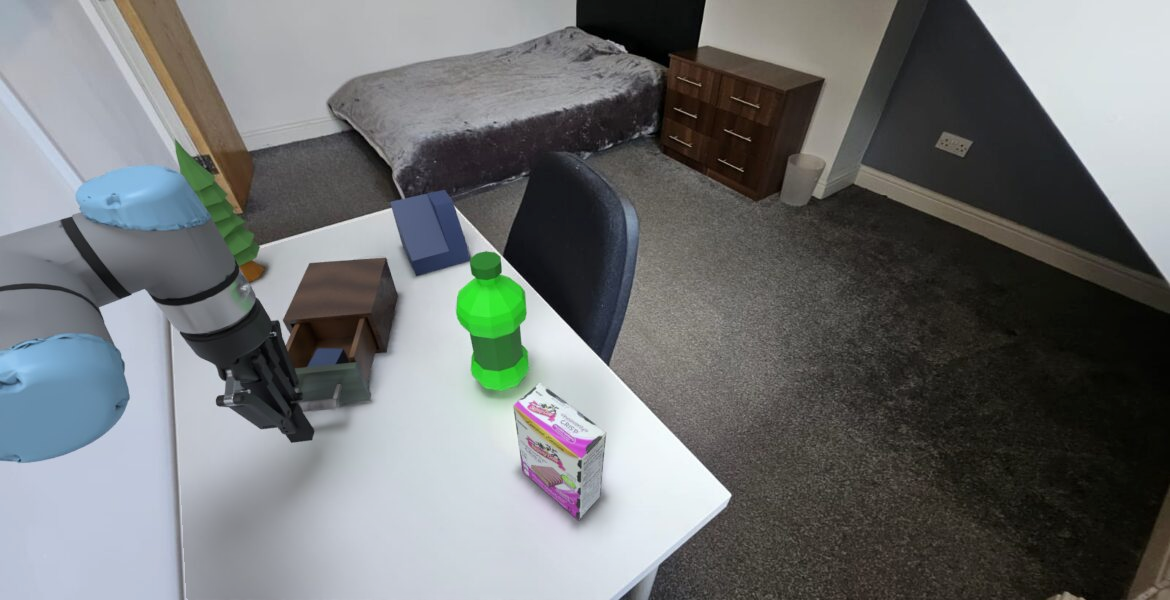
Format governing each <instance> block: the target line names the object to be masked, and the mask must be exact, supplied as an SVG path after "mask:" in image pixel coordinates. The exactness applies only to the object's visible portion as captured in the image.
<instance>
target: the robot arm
mask: <svg viewBox="0 0 1170 600" xmlns="http://www.w3.org/2000/svg"><path fill="white" fill-rule="evenodd" d="M74 197H75V201H76V203H77V205H78V206H79V211H80V212H77V213H73V214H72V215H71V216H69V217H65V218H61V219H58V220H55V221H51V222H47V223H44V224H39V225H36V226H32V227H29V228H26V229H22V230H19V231H15V232H14V231H13V232H10V233H8V234H4V235H1V236H0V462H11V463H12V462H14V463H18V464H29V463H30V464H31V463H37V462H44V461H46V460H48V461H49V460H52V459H57V458H59V457H62V456H65V455H68V454H70V453H74V452H76V451H78V450H80V449H82V448H84V447H86V446H88V445H90V444H92V443H94V442H95V441H97V440H99V439H100V438H102V437H103V436H105V435H106V434H107V433H108V432H109V431H111V429H113V428H114V427H115V425H117V423H118V422H119V421H120V419H121V418H122V416H123V415H124V413H125V411H126V409H127V406H128V404H129V401H130V399H131V398H130V397H131V396H130V391H129V389H130V388H129V386H128V382H127V379H126V375H125V371H126V363H125V361H124V359H123V358H122V352H121V350H120V349H119V348H118V347H117V346H116V345H115V342H114V341H113V338H112V336H111V333H110V332H109V330H108V328H107V325H106V323H105V319H104V316H103V314H102V312H101V308H102V307H104V306H106V305H109V304H112V303H115V302H117V301H119V300H123V299H125V298H128V297H130V296H132V295H133V294H136V293H138V292H140V291H143V290H145V291H146V292H147V294H148V295H149V296H150V297H151V299H152V300H153V301H154V303H155V304H156V306H157V307H158V308H159V310H160V311H161V312H162V314H163V315H164V316H165V317H166V319H167V320H168V321H169V323H170V324H171V325H172V327H174V329H176V331H178V332H179V335H180V336H181V337H182V338H183V340H184V341H185V342H186V344H187V345H188V346H189V347H190V348H191V350H192V351H193V352H194V354H195V355H196V357H199V358H200V359H202V360H205V361H207V362H209V363H211V364H213V365H214V366H215V368H216V370H217V374H218V378H220V379H221V380H222V381H223V382H225V383H224V385H225V386H224V394H218V395H217V396H216V398H215V404H216V406H217V407H219V408H229V409H230V410H232V411H233V412H235V413H236V414H238V415H239V416H241V417H242V418H243V419H245V420H247V421H248V422H249V423H251V424H252V425H254V426H255V427H256V428H258V429H259V430H268V429H278V430H279V431H280V433H281V434H282V435H285V436H286V438H287V439H288V441H289V442H290V443H291V444H293V443H303V442H309V441H313V439H314V435H315V432H316V430H315V429H314V427H313V425H312V424H311V422H310V421H309V419H308V418H307V416H306V414H305V412H303V411H302V408H301V406H300V405H299V403H298V402H297V401H302V399H303V392H301V393H296V391H295V390H294V389H295V387H298V386H299V379H298V377H297V374H296V371H295V369H294V366H293V364H292V361H291V358H290V356H289V353H288V350H287V348H286V343H285V341H284V340H285V339H284V337H283V332H282V327H281V326H282V325H281V322H280V320H278V319H276V320H272V319H271V317H270V315H269V314H268V312H267V311H266V309H265V308H264V305H263V304H262V302H261V301H260V299H259V298H258V297H257V295H256V293H255V291H254V289H253V286H252V285H251V284H250V282H248V281H247V280H246V278H245V276H244V275H243V273H242V271H241V270H240V268H239V265H238V264H237V262H236V260H235V258H234V257H233V255H232V253H231V251H230V249H229V248H228V246H227V244H226V242H225V241H224V239H223V237H222V235H221V234H220V232H219V230H218V228H217V226H216V225H215V223H214V221H213V219H212V218H211V216H210V213H209V212H208V211H207V210H206V208H205V207H204V205H203V204H202V202H201V201H200V199H199V198H198V196H197V195H196V193H195V192H194V190H193V189H192V187H191V186H190V184H189V183H188V181H187V180H186V178H185V177H184V176H183V175H182V174H180V172H179V171H178V170H175V169H172V168H170V167H167V166H164V165H163V166H162V165H156V164H143V165H132V166H125V167H121V168H116V169H112V170H109V171H105V174H103V175H102V174H101V175H100V176H97V177H93V178H92V177H91V178H90V179H88V180H86V181H84V182H83V183H81V185H80V186H79V187H78V188H77V190H76V191H75V195H74ZM287 377H288V378H289V379H287Z"/></svg>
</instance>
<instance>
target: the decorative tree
mask: <svg viewBox="0 0 1170 600" xmlns="http://www.w3.org/2000/svg"><path fill="white" fill-rule="evenodd" d="M174 146H175V147H174V149H175V155H176V158H177V163H178V167H179V173H180V174H182V175H183V176H184V177H185V178H186V180H187V181H188V183H189V184H190V186H191V187H192V189H193V190H194V192H195V193H196V195H197V196H198V198H199V199H200V201H201V202H202V204H203V205H204V207H205V208H206V210H207V211H208V212H209V213H210V216H211V218H212V219H213V221H214V223H215V225H216V226H217V228H218V230H219V232H220V234H221V235H222V237H223V239H224V241H225V242H226V244H227V246H228V248H229V249H230V251H231V253H232V255H233V257H234V258H235V260H236V262H237V264H238V265H239V268H240V270H241V271H242V273H243V275H244V276H245V278H246V280H247V281H248V283H251V282H254V281H255V280H258V279H260V277H261V276H262V274H263V272H264V271H265V268H264V267H263V266H261V265H260V264H258V263H257V262H256V261H254V259H257V257H258V254H259V251H260V249H261V246H260V245H259V244H258V243H256V242H255V241H254V238H255V233H254V232H251V231H250V230H249V229H246V228H245V227H243V225H244V224H245V223H246V221H245V220H244V219H243V218H241V217H240V216H238V215H237V214H236V213H235V212H234V210H235V207H234V206H233V205H232V203H230V201H228V199H226V198H227V196H228V193H227V192H226V191H225V190H224V188H222V187H221V186H220V185H219V184H218V182H216V180H215V179H216V176H215V175H214V174H212V173H211V172H210V171H209V170H207V169H206V168H204V166H202V165H201V164H200V163H199V162H198V161H197V160H196V159H194V157H192V156H191V154H190V153H189V152H187V150H185V148H184V147H183V146H182V145H181V144H180V143H179V142H178V140H177V139H176V138H174Z"/></svg>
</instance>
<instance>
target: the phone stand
mask: <svg viewBox="0 0 1170 600" xmlns="http://www.w3.org/2000/svg"><path fill="white" fill-rule="evenodd" d="M389 204H390V207H391V210H392V215H393V218H394V222H395V225H396V228H397V232H398V235H399V239H400V242H401V246H402V249H403V251H404V253H405V256H406V258H407V260H408V262H409V264H410V265H411V268H412V271H413V272H414V275H415V277H418V276H422V275H425V274H429V273H432V272H435V271H440V270H442V269H446V268H449V267H453V266H457V265H461V264H463V263H467V262H470V255H469V247H468V244H467V241H466V238H465V235H464V231H463V229H462V225H461V221H460V219H459V216H458V213H457V210H456V206H455V204H454V200H452V197H450V195H449V193H447V190H445V189H442V190H437V191H432V192H428V193H424V194H419V195H415V196H414V195H413V196H410V197H405V198H401V199H396V200H392V201H389Z"/></svg>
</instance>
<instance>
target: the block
mask: <svg viewBox="0 0 1170 600" xmlns="http://www.w3.org/2000/svg"><path fill="white" fill-rule="evenodd" d="M343 363H350V362H349V359H348V357H347V355H346V353H345V351H344V349H335V348H318V349H317V350H316V352H315V354H314V356H313V357H312V359H311V361H310V363H309V364H308V366H307V367H314V366H324V365H334V364H343Z"/></svg>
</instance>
